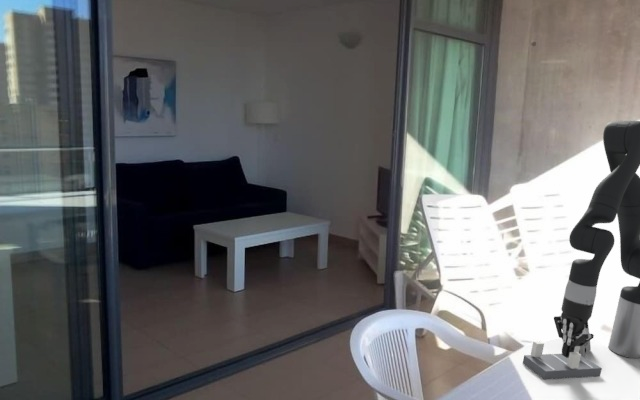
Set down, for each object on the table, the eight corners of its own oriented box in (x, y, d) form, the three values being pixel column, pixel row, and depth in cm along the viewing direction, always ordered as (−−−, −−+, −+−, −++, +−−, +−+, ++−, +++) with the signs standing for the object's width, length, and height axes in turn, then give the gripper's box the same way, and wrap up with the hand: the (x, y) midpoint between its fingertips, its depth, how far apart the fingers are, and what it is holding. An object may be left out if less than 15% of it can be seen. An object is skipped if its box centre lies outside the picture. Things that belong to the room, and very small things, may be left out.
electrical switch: (583, 360, 162) (586, 329, 161) (564, 355, 165) (567, 325, 164) (590, 351, 169) (593, 322, 168) (573, 346, 172) (575, 318, 171)
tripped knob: (573, 365, 151) (576, 351, 150) (578, 368, 149) (581, 354, 148) (566, 365, 150) (569, 352, 149) (571, 368, 148) (574, 354, 148)
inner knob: (574, 352, 159) (577, 339, 158) (578, 355, 158) (581, 342, 157) (567, 352, 158) (570, 340, 158) (571, 355, 157) (574, 342, 156)
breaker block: (576, 360, 161) (578, 352, 160) (599, 376, 152) (601, 367, 152) (522, 363, 155) (524, 354, 154) (544, 379, 146) (546, 371, 146)
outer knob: (537, 354, 155) (540, 341, 154) (541, 356, 154) (544, 343, 153) (530, 354, 154) (533, 341, 154) (534, 357, 153) (537, 343, 152)
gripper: (551, 289, 154) (539, 345, 157) (586, 307, 141) (573, 369, 145) (572, 288, 156) (560, 344, 159) (609, 307, 144) (595, 367, 147)
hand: (566, 356), depth 152 cm, fingers closed
